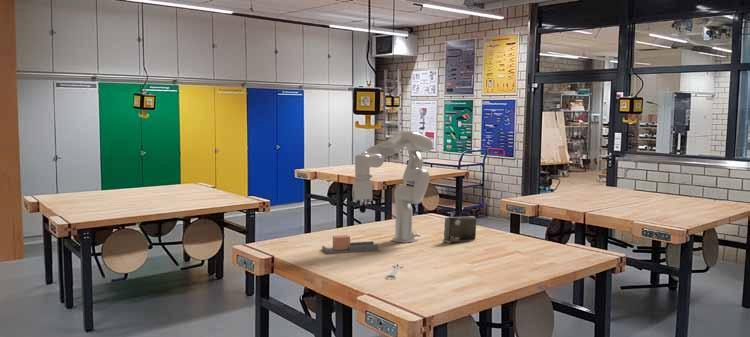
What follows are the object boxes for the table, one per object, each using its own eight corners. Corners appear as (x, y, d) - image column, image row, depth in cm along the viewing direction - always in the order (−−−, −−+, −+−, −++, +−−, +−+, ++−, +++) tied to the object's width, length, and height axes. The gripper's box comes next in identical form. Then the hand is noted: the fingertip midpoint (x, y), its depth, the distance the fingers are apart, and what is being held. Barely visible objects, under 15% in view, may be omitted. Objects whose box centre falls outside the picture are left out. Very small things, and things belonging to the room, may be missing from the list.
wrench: (404, 267, 278) (394, 266, 279) (405, 264, 278) (394, 263, 279) (395, 281, 253) (383, 280, 254) (395, 277, 253) (383, 276, 254)
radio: (472, 237, 344) (473, 212, 343) (481, 240, 336) (482, 215, 335) (440, 241, 333) (440, 215, 331) (449, 244, 325) (449, 217, 324)
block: (347, 247, 309) (347, 235, 309) (350, 249, 304) (350, 236, 304) (332, 248, 306) (332, 235, 306) (335, 250, 302) (335, 237, 301)
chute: (372, 246, 317) (372, 240, 316) (378, 250, 307) (378, 244, 307) (322, 249, 307) (322, 244, 307) (327, 254, 298) (327, 248, 298)
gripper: (373, 176, 312) (373, 210, 314) (346, 177, 307) (347, 212, 309) (378, 178, 305) (378, 212, 307) (350, 179, 300) (351, 214, 302)
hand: (362, 212), depth 308 cm, fingers closed
